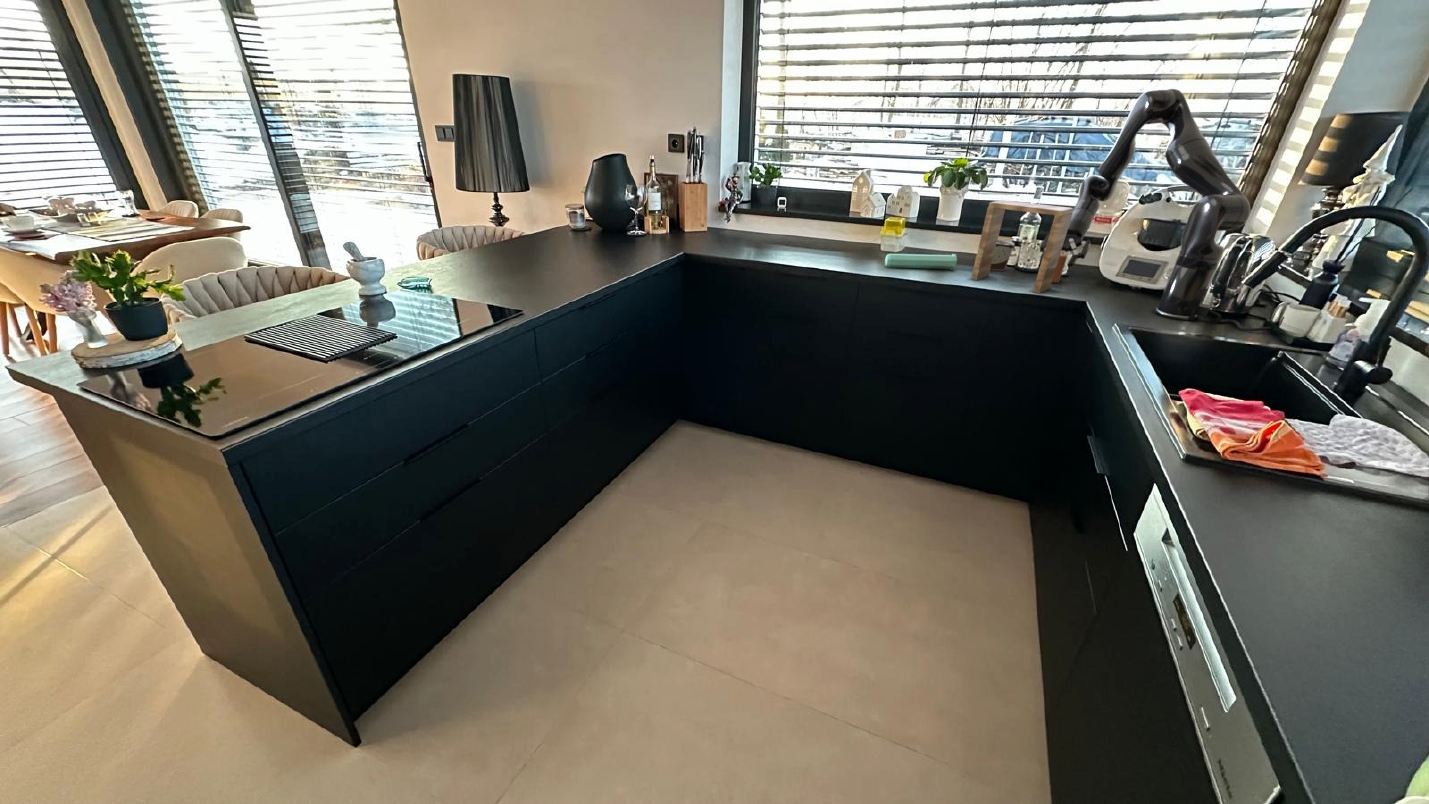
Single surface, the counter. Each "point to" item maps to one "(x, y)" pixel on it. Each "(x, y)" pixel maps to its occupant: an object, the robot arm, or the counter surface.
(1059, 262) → the tea tin
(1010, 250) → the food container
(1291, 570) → the counter surface
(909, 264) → the container
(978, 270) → the shelf
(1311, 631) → the counter surface
